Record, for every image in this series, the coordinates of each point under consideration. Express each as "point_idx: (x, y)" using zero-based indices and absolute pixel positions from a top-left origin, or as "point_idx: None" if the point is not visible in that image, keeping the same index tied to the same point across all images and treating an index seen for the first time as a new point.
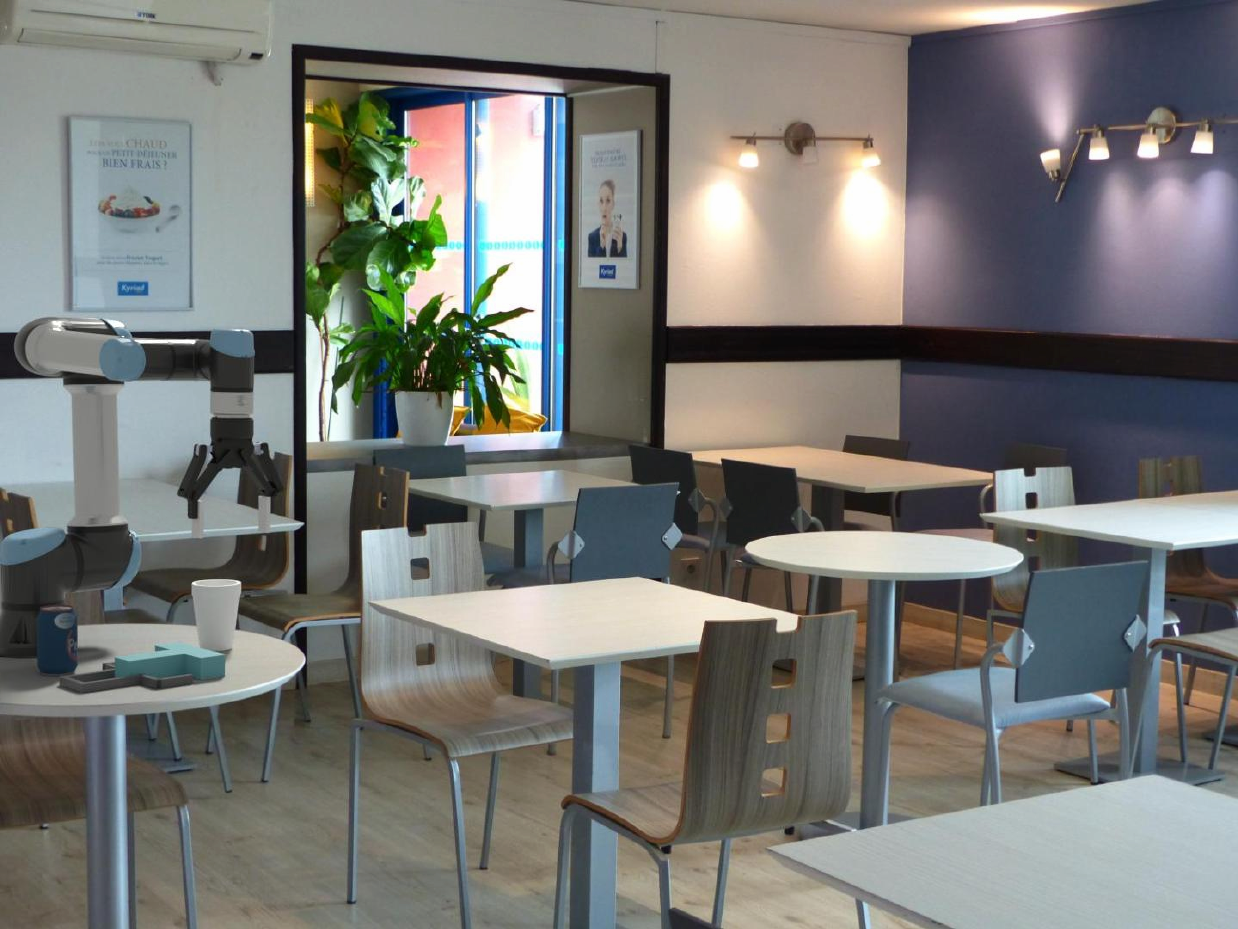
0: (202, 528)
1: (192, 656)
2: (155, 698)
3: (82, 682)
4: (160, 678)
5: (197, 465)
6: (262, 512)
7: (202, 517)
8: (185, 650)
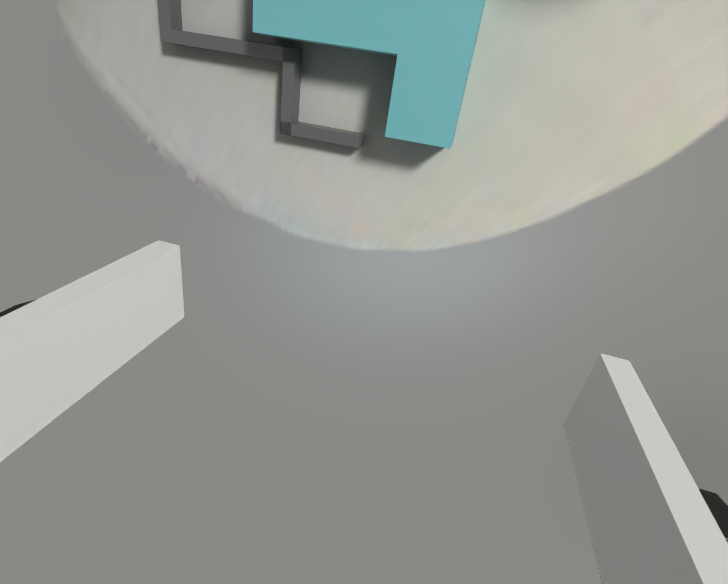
0: (145, 341)
1: (391, 95)
2: (248, 190)
3: (167, 25)
4: (294, 123)
5: None
6: (614, 499)
7: (96, 378)
8: (427, 16)
